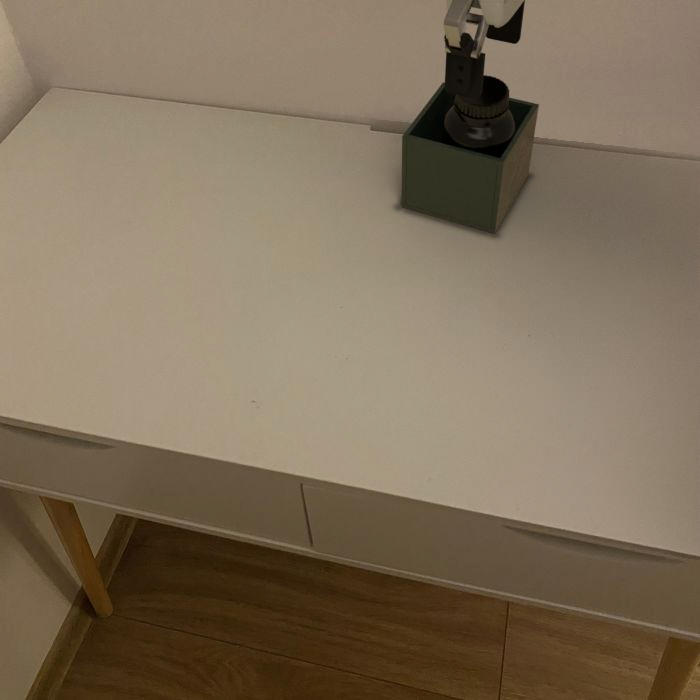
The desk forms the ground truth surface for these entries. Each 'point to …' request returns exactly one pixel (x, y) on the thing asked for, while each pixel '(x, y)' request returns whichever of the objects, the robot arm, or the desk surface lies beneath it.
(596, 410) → the desk surface
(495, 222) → the open box
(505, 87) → the supplement bottle
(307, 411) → the desk surface
